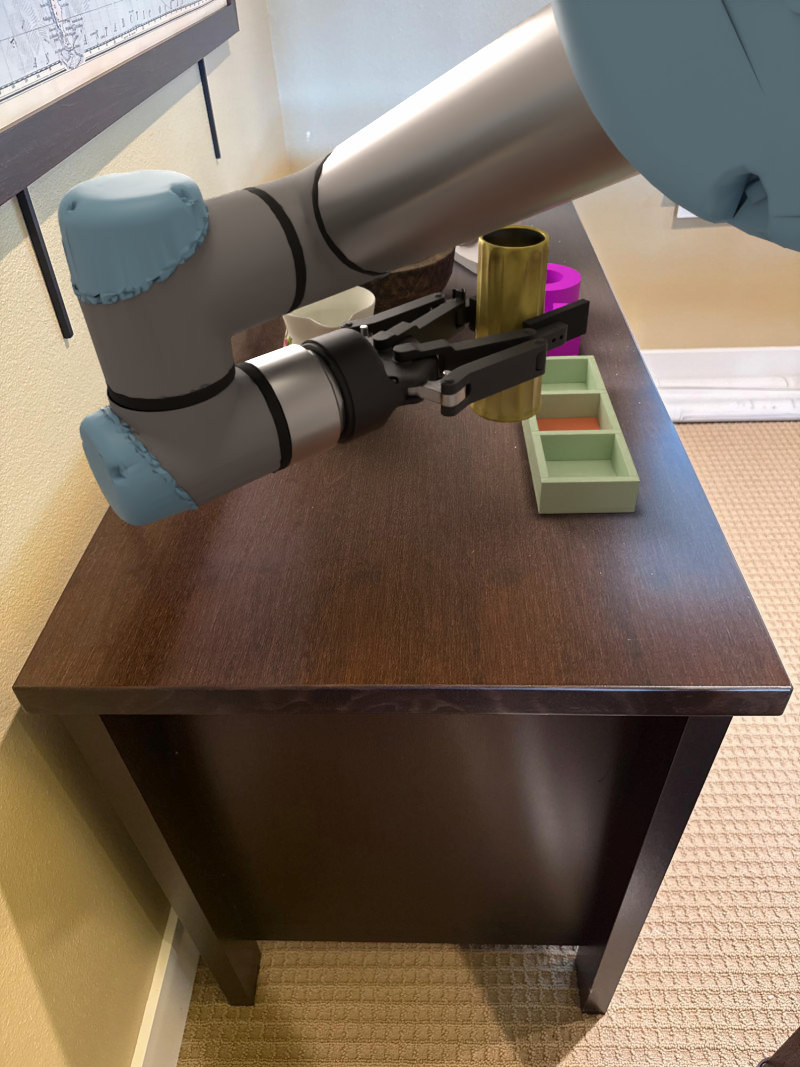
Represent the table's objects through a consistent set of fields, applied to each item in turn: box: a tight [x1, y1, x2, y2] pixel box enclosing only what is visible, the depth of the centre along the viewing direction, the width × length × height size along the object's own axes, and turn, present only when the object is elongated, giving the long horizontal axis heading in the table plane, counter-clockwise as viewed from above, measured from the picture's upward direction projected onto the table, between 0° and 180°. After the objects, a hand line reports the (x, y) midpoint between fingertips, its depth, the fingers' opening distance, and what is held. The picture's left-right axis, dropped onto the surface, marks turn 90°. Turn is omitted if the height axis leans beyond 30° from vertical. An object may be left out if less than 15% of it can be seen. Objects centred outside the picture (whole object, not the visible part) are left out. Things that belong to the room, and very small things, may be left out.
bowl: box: [359, 246, 456, 315], centre depth 109 cm, size 22×22×10 cm
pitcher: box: [282, 286, 375, 348], centre depth 88 cm, size 11×18×14 cm, turn 10°
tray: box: [521, 354, 641, 515], centre depth 83 cm, size 26×9×4 cm, turn 179°
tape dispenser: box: [544, 262, 582, 357], centre depth 104 cm, size 16×10×6 cm, turn 175°
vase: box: [469, 224, 550, 424], centre depth 62 cm, size 6×6×14 cm
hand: (556, 304), depth 64 cm, fingers closed on vase, 5 cm apart
